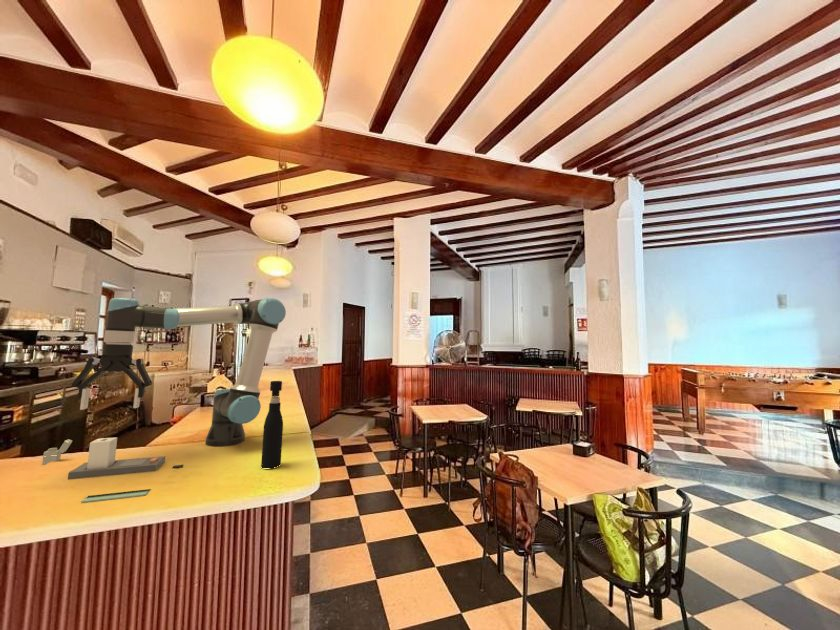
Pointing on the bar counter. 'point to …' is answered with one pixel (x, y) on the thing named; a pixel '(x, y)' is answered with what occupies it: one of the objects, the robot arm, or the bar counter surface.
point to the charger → (102, 453)
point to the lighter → (55, 453)
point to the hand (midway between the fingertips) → (110, 408)
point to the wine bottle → (273, 430)
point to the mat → (115, 495)
